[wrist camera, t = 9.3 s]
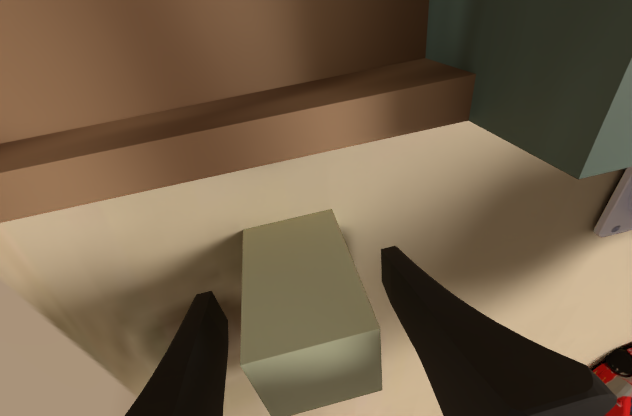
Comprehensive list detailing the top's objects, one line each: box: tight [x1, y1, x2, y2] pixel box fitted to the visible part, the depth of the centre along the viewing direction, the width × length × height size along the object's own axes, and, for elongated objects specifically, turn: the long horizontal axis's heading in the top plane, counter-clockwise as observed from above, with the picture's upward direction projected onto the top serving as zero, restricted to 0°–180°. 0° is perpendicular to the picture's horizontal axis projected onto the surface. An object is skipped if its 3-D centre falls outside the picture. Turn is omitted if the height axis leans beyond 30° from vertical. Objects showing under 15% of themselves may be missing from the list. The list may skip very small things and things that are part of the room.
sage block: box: [240, 209, 382, 416], centre depth 12 cm, size 4×4×6 cm
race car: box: [593, 348, 632, 416], centre depth 32 cm, size 16×7×5 cm, turn 161°
